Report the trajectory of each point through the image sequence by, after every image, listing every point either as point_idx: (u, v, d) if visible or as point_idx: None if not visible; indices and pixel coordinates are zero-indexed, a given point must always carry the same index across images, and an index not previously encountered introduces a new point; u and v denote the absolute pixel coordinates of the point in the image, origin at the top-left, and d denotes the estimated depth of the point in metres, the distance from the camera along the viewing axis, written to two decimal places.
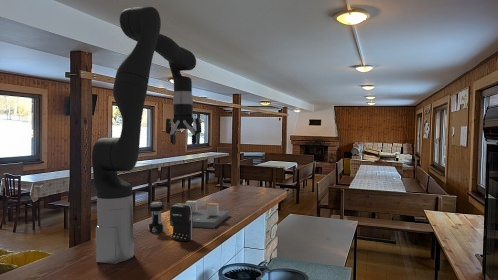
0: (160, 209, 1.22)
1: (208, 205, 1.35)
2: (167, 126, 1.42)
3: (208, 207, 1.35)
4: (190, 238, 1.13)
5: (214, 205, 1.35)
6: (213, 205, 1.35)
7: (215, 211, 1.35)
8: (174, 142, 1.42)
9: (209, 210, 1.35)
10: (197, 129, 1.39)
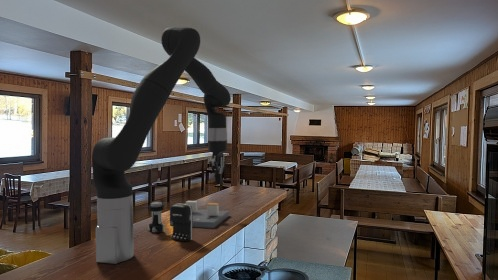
0: (160, 209, 1.22)
1: (208, 205, 1.35)
2: (217, 167, 1.38)
3: (208, 207, 1.35)
4: (190, 238, 1.13)
5: (214, 205, 1.35)
6: (213, 205, 1.35)
7: (215, 211, 1.35)
8: None
9: (209, 210, 1.35)
10: (223, 167, 1.45)
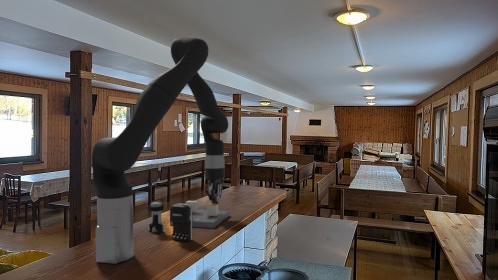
0: (160, 209, 1.22)
1: (208, 205, 1.35)
2: (214, 195, 1.35)
3: (207, 208, 1.35)
4: (190, 238, 1.13)
5: (214, 205, 1.34)
6: (213, 205, 1.34)
7: (215, 211, 1.34)
8: None
9: (208, 210, 1.35)
10: (220, 194, 1.42)
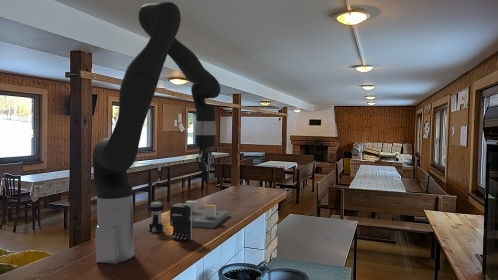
0: (160, 209, 1.22)
1: (205, 207, 1.32)
2: (204, 163, 1.26)
3: (205, 209, 1.32)
4: (190, 238, 1.13)
5: (211, 207, 1.32)
6: (210, 207, 1.32)
7: (212, 213, 1.32)
8: None
9: (206, 212, 1.32)
10: (211, 165, 1.33)
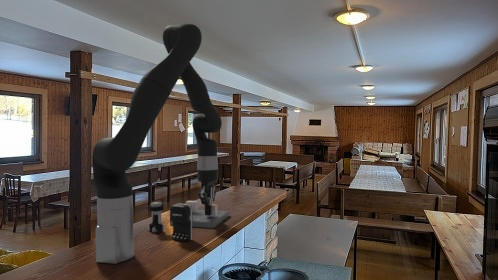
0: (160, 209, 1.22)
1: None
2: (207, 198, 1.27)
3: None
4: (190, 238, 1.13)
5: (212, 206, 1.33)
6: None
7: (213, 212, 1.33)
8: None
9: None
10: (214, 197, 1.34)
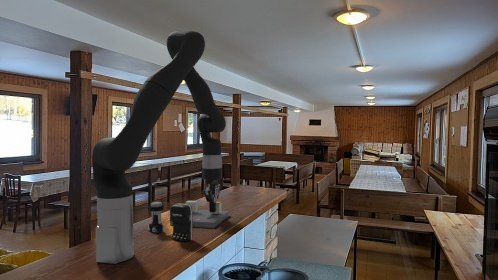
0: (160, 209, 1.22)
1: None
2: (212, 196, 1.31)
3: None
4: (190, 238, 1.13)
5: (217, 203, 1.38)
6: (216, 203, 1.38)
7: (218, 209, 1.38)
8: None
9: None
10: (218, 195, 1.38)
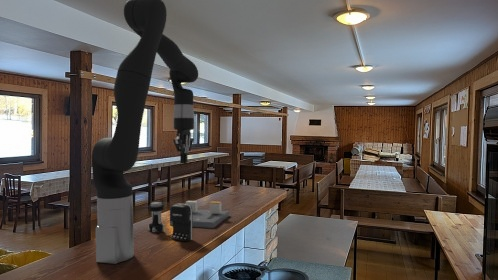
0: (160, 209, 1.22)
1: (211, 203, 1.38)
2: (182, 145, 1.30)
3: (210, 206, 1.38)
4: (190, 238, 1.13)
5: (217, 203, 1.38)
6: (216, 203, 1.38)
7: (218, 209, 1.38)
8: None
9: (211, 208, 1.38)
10: (190, 147, 1.37)
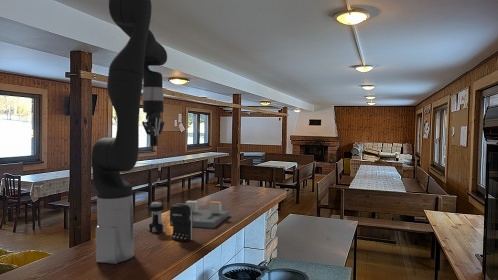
0: (160, 209, 1.22)
1: (211, 203, 1.38)
2: (151, 128, 1.30)
3: (210, 206, 1.38)
4: (190, 238, 1.13)
5: (217, 203, 1.38)
6: (216, 203, 1.38)
7: (218, 209, 1.38)
8: None
9: (211, 208, 1.38)
10: (160, 130, 1.37)
